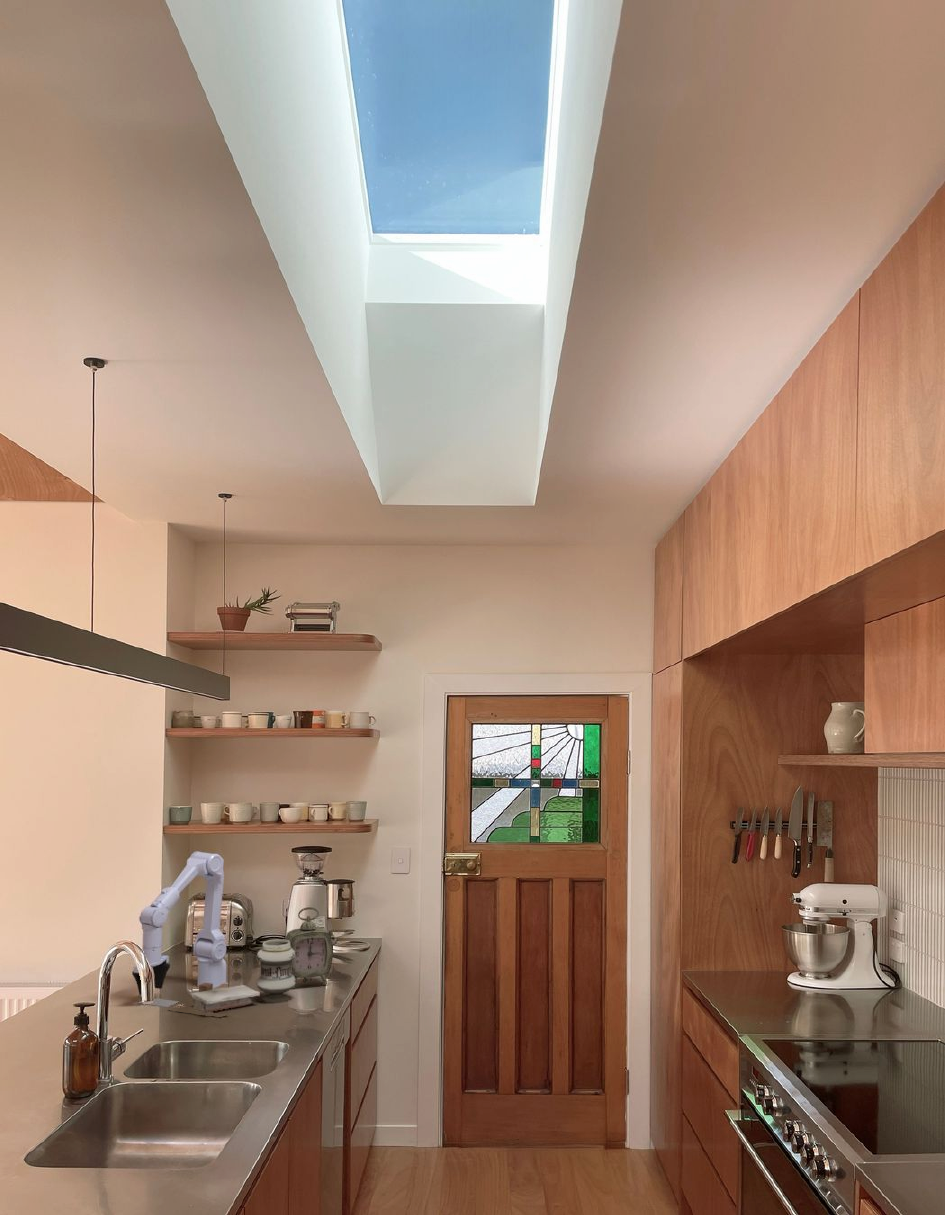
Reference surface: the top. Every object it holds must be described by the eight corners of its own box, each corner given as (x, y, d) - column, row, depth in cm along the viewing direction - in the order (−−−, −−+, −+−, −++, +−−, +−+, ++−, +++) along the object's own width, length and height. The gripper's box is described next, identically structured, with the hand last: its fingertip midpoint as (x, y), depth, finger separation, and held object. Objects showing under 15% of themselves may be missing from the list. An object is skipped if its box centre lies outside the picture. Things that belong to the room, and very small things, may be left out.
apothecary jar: (248, 1000, 332) (249, 941, 334) (279, 993, 341) (280, 935, 343) (271, 1009, 324) (273, 948, 326) (303, 1000, 333) (304, 941, 334)
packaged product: (190, 1008, 322) (205, 1017, 314) (191, 992, 322) (206, 1000, 315) (243, 999, 334) (259, 1007, 326) (244, 983, 334) (260, 991, 326)
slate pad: (149, 999, 333) (149, 997, 333) (179, 1003, 329) (179, 1001, 329) (137, 1004, 328) (137, 1002, 328) (167, 1008, 324) (167, 1006, 324)
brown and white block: (197, 1003, 330) (197, 985, 330) (205, 999, 334) (205, 982, 334) (222, 1006, 327) (222, 988, 327) (229, 1003, 330) (230, 985, 331)
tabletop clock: (288, 990, 344) (290, 911, 346) (281, 983, 352) (283, 906, 354) (331, 985, 350) (333, 908, 352) (324, 979, 358) (325, 903, 360)
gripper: (156, 940, 339) (154, 984, 338) (126, 950, 325) (124, 996, 324) (174, 942, 336) (173, 986, 335) (145, 952, 323) (143, 998, 322)
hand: (150, 991), depth 330 cm, fingers open, 7 cm apart
